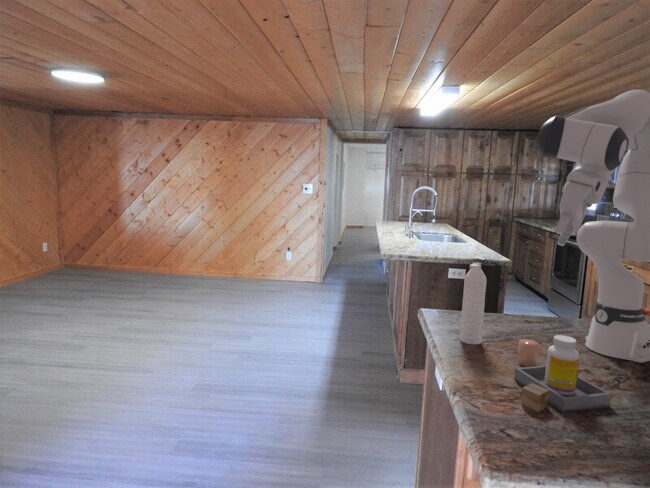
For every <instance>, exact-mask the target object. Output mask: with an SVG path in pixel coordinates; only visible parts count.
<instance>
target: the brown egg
mask: <svg viewBox="0 0 650 488" xmlns="http://www.w3.org/2000/svg"><path fill="white" fill-rule="evenodd" d="M539 347H540V344H539V342H537V341H535V340H531V339H527V338H524V339H519V341H518V349H517V360H516V361H517V364H519V365H521V366H522V367H534V366H538V359H539V350H540V348H539Z"/></svg>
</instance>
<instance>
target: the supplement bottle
mask: <svg viewBox="0 0 650 488" xmlns="http://www.w3.org/2000/svg"><path fill="white" fill-rule="evenodd" d="M576 346H577V339H575V338H574V337H571V336H568V335H563V334H556V335H554V336H553V345H551V346H549V347H548V349H547V354H546V363H545V365H546V371H545V380H544V384H545V385H546V386H548V387H549V388H551V389H552V390H554V391H556V392H557V393H559V394H560V395H566V396H567V395H573V394H574V393H575V390H576V382H577V375H578V371H579V364H580V353H579V352H578V350H576Z"/></svg>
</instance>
